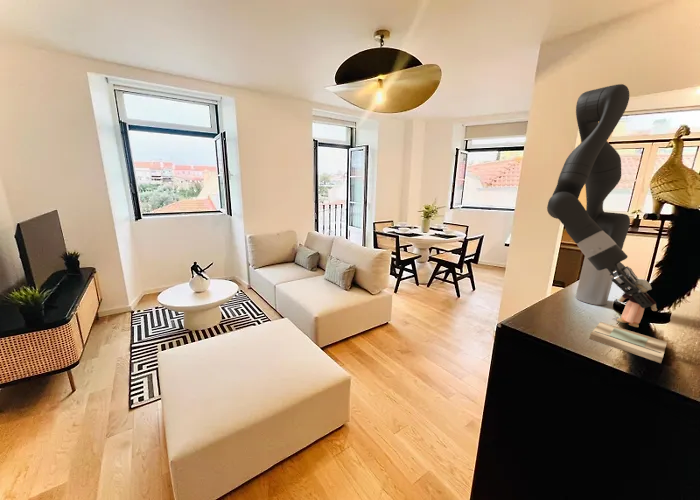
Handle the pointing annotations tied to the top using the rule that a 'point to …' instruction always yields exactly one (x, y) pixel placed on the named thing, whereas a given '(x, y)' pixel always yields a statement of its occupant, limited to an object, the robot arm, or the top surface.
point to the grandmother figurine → (635, 305)
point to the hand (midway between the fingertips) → (648, 305)
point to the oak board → (629, 341)
